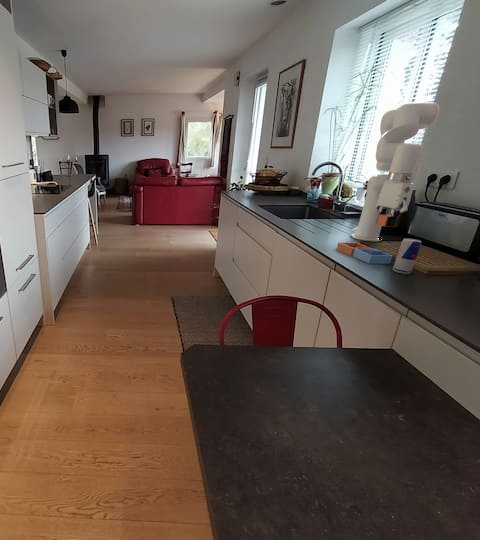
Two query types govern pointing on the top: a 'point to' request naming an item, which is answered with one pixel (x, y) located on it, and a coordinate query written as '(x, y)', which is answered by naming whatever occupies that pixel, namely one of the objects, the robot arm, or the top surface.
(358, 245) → the terracotta bin
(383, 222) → the terracotta block
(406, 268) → the energy drink
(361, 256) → the blue bin
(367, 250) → the blue block
